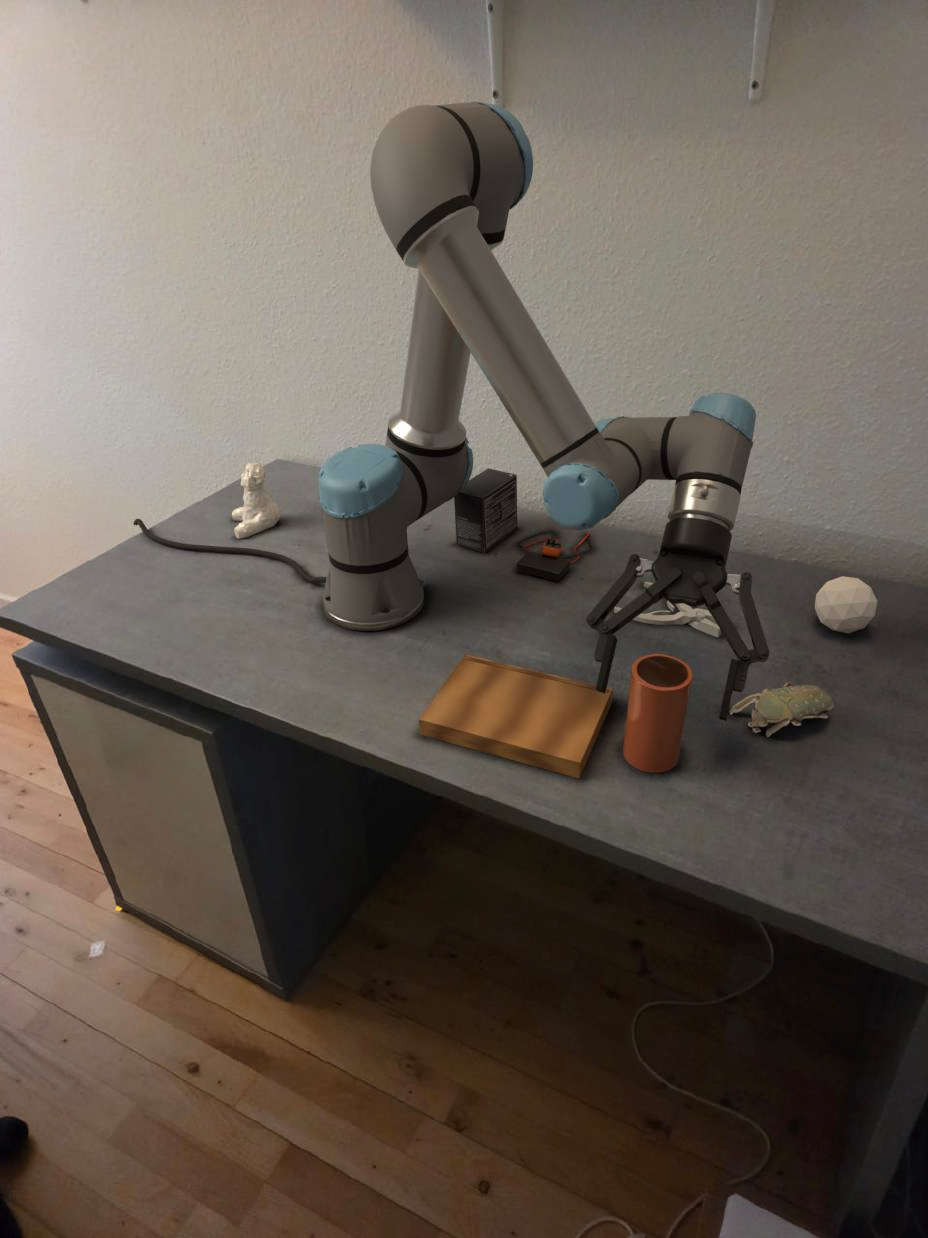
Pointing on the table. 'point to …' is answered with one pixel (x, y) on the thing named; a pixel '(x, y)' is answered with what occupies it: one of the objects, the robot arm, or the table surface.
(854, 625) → the geometric ball
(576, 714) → the oak board
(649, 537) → the table surface
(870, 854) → the table surface
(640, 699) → the pen cup
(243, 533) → the sitting furry creature
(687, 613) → the pliers
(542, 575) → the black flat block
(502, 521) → the small box
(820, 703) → the decorative insect model
